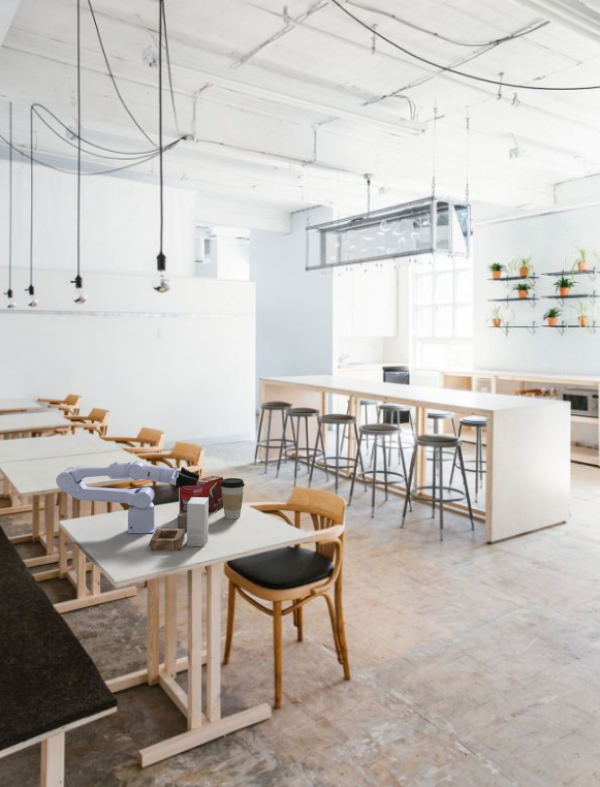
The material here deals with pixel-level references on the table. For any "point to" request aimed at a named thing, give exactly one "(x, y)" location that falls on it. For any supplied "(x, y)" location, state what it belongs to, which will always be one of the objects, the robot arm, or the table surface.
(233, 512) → the coffee cup
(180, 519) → the tall grey block
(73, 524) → the table surface
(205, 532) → the skincare box
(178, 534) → the well block
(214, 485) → the ice cream box
